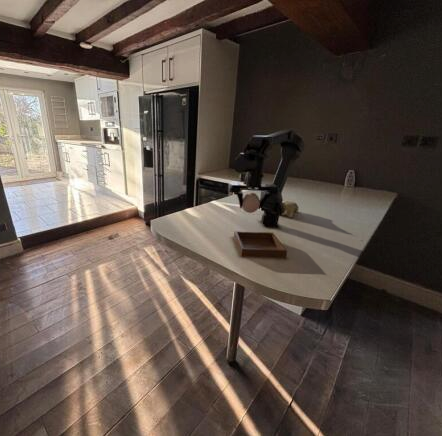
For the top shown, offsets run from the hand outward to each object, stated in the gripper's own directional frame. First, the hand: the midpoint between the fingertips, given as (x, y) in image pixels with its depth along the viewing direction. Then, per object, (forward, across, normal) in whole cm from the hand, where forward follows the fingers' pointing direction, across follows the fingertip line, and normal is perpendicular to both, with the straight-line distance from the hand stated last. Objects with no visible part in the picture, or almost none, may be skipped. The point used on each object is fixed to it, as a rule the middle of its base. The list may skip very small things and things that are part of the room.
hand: (249, 208), depth 95 cm
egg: (+2, 0, 0) cm, 2 cm away
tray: (+12, -2, +12) cm, 16 cm away
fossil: (+12, -28, -29) cm, 42 cm away
